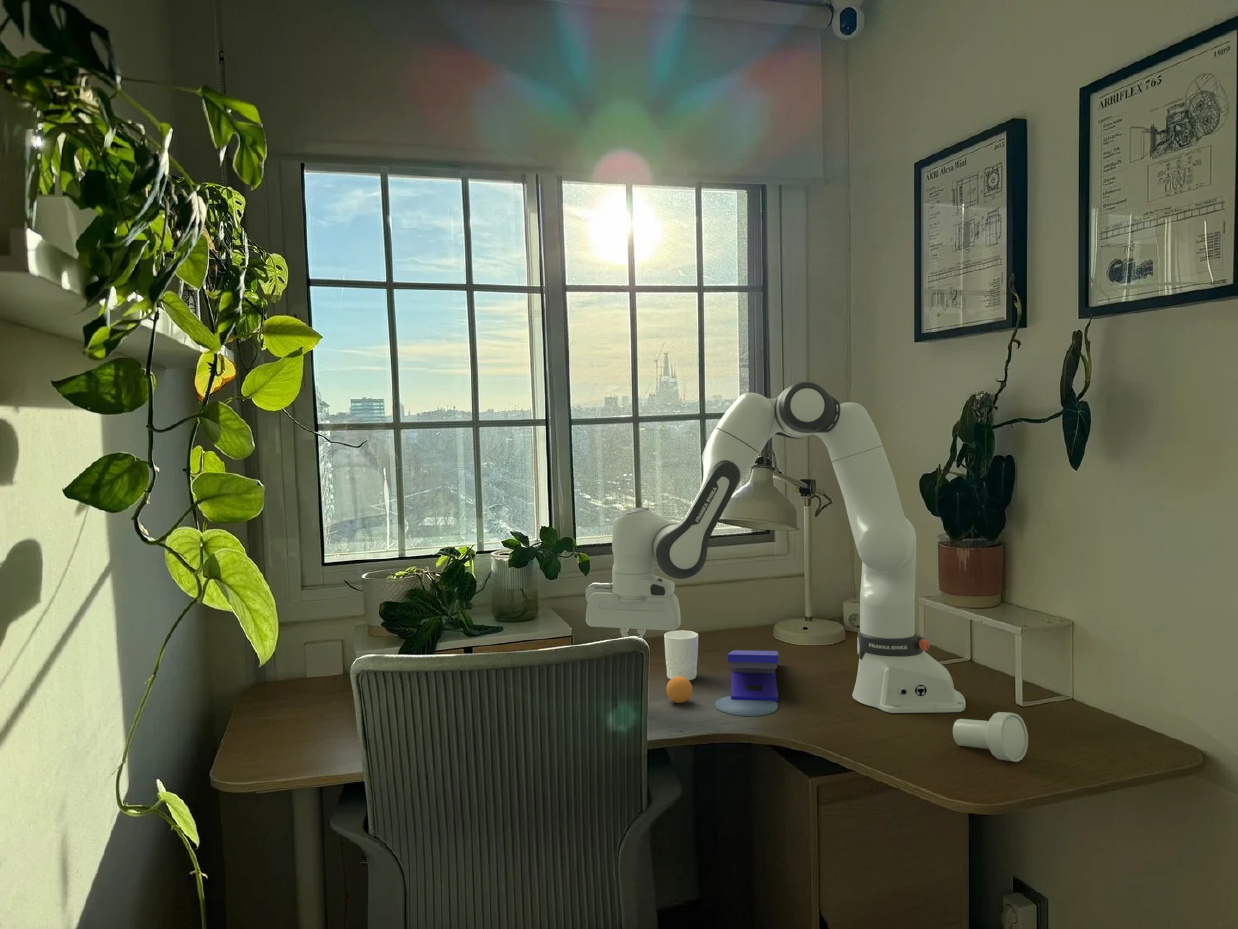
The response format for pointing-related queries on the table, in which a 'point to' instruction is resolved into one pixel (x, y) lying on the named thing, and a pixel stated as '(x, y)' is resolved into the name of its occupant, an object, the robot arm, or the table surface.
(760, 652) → the stapler
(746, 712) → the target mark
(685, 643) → the white cup
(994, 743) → the spotlight
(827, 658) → the table surface
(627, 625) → the robot arm
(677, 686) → the ball
